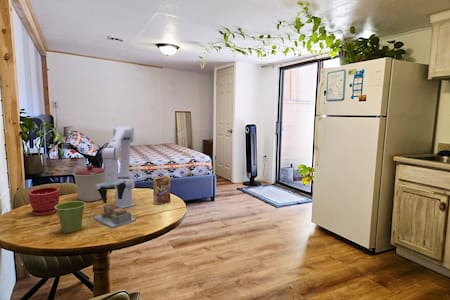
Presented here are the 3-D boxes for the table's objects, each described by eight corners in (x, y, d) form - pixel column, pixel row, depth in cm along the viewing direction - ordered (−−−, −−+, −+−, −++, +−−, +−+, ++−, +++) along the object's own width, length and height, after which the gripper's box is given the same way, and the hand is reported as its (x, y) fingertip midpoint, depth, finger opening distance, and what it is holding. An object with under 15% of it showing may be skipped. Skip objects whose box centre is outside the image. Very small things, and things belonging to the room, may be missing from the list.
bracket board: (93, 218, 134) (92, 209, 133) (116, 212, 143) (116, 203, 143) (112, 228, 122) (111, 218, 122) (136, 220, 132) (135, 211, 131)
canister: (77, 196, 172) (75, 162, 169) (109, 193, 177) (107, 161, 174) (71, 205, 154) (68, 168, 152) (106, 202, 160) (104, 166, 157)
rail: (104, 215, 135) (103, 206, 135) (111, 213, 138) (111, 204, 138) (118, 223, 126) (118, 212, 126) (126, 220, 129) (126, 210, 129)
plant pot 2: (84, 233, 117) (82, 208, 116) (52, 237, 114) (50, 210, 112) (89, 223, 128) (88, 199, 127) (60, 226, 125) (58, 202, 124)
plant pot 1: (24, 214, 139) (22, 191, 138) (51, 207, 151) (49, 185, 150) (39, 219, 133) (37, 195, 132) (66, 211, 145) (64, 188, 143)
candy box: (155, 205, 155) (155, 178, 153) (153, 203, 158) (152, 177, 156) (170, 202, 159) (170, 176, 158) (168, 200, 163) (167, 175, 161)
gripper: (100, 176, 123) (101, 206, 124) (129, 171, 134) (130, 198, 135) (92, 174, 127) (94, 203, 129) (122, 169, 138) (123, 196, 140)
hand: (112, 200), depth 132 cm, fingers open, 7 cm apart
